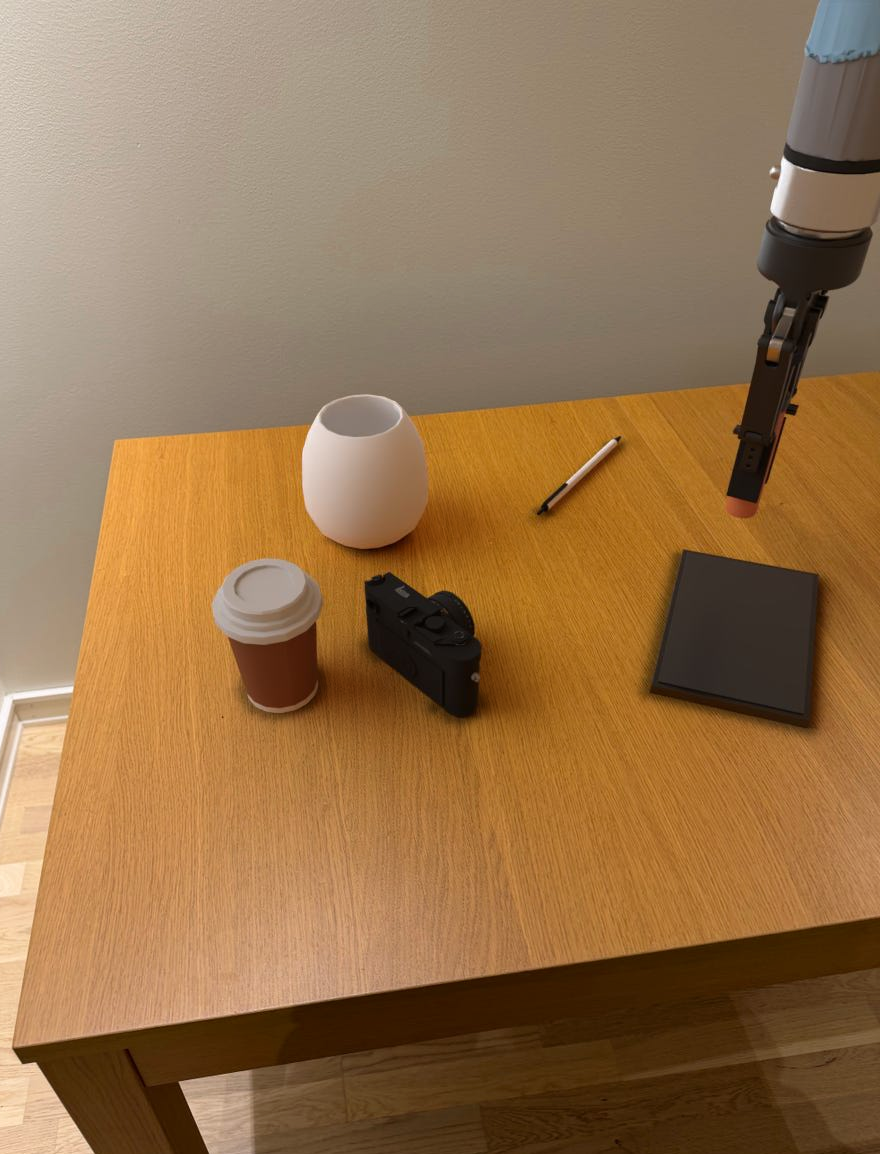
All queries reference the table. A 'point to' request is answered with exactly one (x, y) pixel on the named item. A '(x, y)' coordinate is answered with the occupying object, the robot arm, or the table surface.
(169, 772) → the table surface
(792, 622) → the plate
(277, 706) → the coffee cup
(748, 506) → the orange cylinder
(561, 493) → the pen
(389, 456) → the white vase
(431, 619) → the camera
